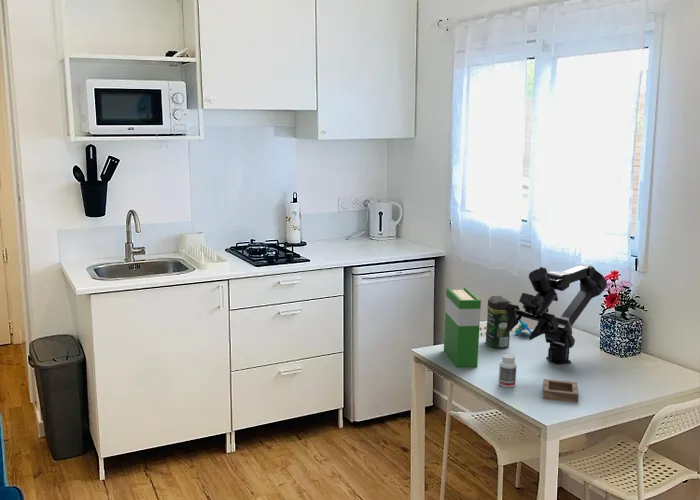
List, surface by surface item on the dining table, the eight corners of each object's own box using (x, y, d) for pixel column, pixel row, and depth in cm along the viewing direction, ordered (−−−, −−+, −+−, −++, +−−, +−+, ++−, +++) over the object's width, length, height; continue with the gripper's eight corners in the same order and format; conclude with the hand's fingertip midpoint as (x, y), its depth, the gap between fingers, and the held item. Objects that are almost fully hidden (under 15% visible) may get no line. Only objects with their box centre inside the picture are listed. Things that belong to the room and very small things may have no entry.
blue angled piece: (537, 335, 281) (519, 316, 281) (526, 345, 281) (508, 327, 282) (533, 331, 292) (516, 312, 292) (522, 340, 292) (505, 322, 293)
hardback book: (443, 350, 266) (446, 287, 262) (463, 350, 267) (466, 287, 263) (456, 367, 249) (459, 300, 244) (477, 367, 250) (480, 300, 245)
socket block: (542, 387, 234) (543, 378, 233) (576, 391, 231) (577, 382, 231) (542, 399, 224) (543, 390, 223) (577, 403, 221) (578, 394, 221)
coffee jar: (482, 341, 278) (485, 294, 275) (502, 340, 280) (504, 293, 276) (491, 349, 269) (494, 301, 265) (512, 348, 270) (515, 300, 267)
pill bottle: (518, 387, 233) (520, 358, 231) (502, 388, 231) (504, 359, 230) (510, 381, 238) (512, 352, 236) (495, 382, 237) (497, 353, 235)
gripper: (511, 279, 247) (487, 312, 241) (558, 290, 233) (534, 326, 227) (521, 301, 253) (498, 334, 247) (568, 313, 240) (545, 348, 233)
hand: (518, 335), depth 239 cm, fingers open, 9 cm apart
